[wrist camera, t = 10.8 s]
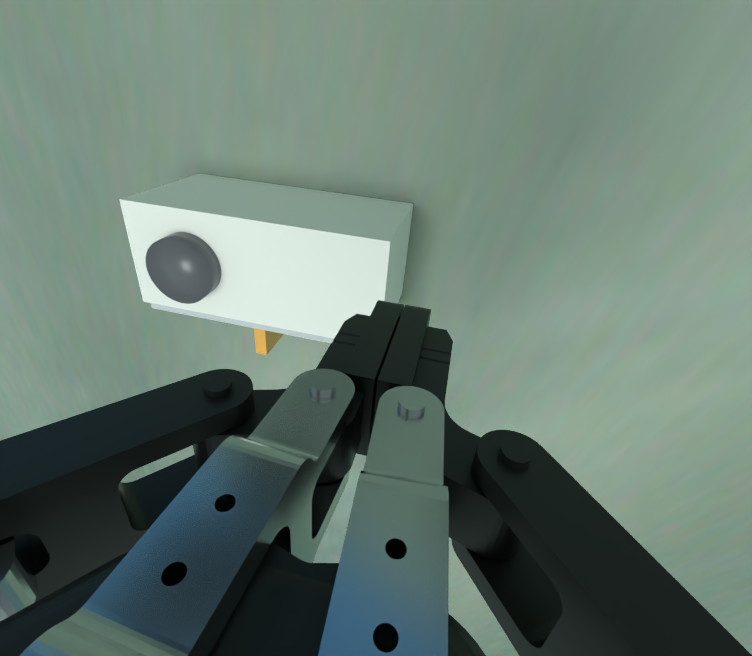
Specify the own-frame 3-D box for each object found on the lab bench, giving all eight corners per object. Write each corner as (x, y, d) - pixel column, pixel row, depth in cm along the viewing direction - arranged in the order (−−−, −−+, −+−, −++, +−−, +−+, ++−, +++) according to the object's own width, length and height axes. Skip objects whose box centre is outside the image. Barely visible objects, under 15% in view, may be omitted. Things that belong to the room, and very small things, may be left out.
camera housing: (199, 173, 47) (101, 205, 35) (413, 203, 43) (385, 250, 31) (211, 267, 52) (131, 321, 41) (401, 300, 49) (373, 371, 37)
